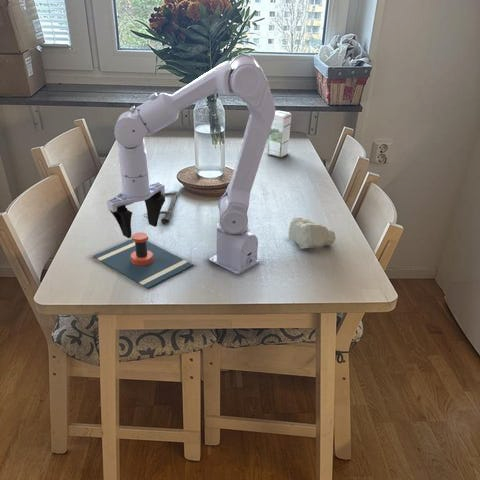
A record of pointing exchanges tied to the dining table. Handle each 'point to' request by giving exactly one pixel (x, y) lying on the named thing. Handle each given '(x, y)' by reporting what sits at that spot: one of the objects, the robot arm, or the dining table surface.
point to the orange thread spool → (141, 250)
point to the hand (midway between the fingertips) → (140, 230)
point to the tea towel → (147, 274)
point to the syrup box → (279, 134)
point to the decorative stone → (310, 233)
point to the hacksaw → (168, 213)
